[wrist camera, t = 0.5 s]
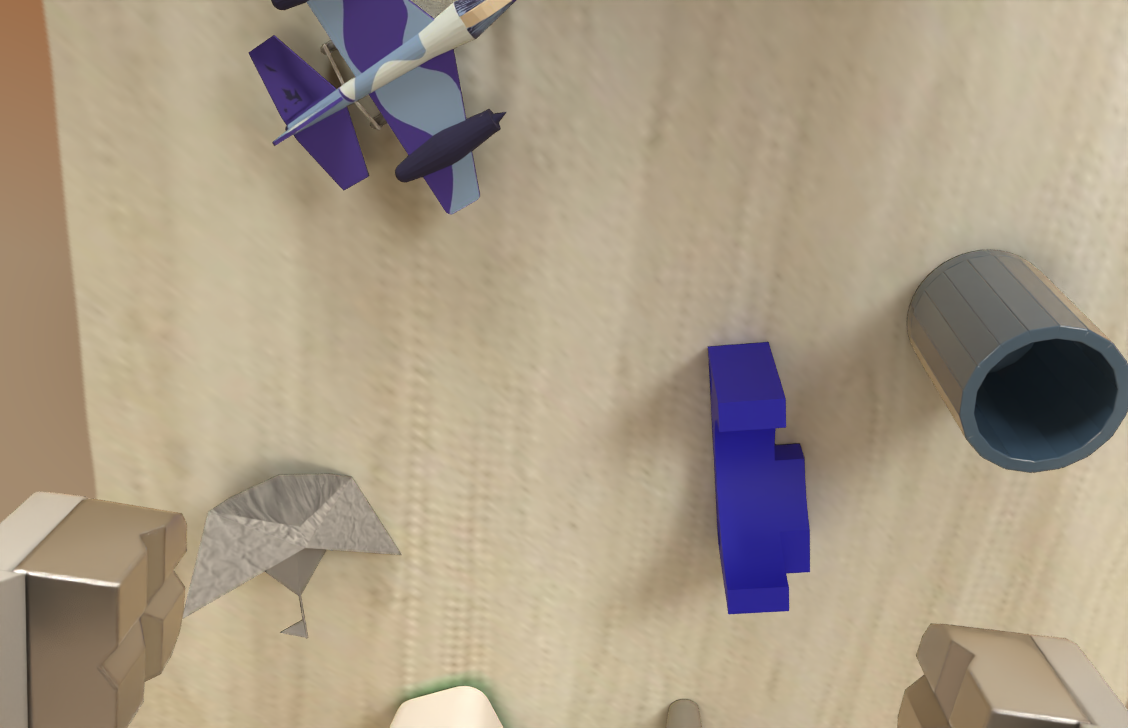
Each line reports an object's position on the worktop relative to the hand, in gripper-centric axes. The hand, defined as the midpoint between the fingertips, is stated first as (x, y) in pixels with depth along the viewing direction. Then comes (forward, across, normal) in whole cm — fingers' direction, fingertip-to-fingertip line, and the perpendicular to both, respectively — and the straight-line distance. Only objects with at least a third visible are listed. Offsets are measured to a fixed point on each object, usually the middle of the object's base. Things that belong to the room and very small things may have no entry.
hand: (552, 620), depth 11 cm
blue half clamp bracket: (+41, -12, +14) cm, 45 cm away
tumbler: (+40, -21, +5) cm, 45 cm away
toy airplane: (+39, +7, -3) cm, 40 cm away
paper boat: (+42, +12, +24) cm, 50 cm away
